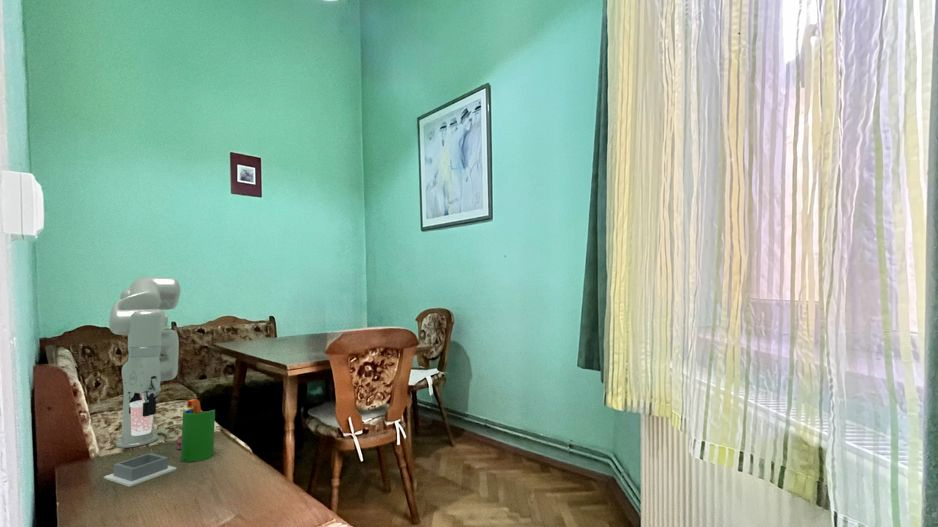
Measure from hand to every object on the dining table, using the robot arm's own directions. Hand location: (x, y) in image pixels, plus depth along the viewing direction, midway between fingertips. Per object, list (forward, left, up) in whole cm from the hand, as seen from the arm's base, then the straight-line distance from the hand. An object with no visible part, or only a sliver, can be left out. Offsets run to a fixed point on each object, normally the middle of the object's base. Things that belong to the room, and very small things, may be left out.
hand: (142, 413), depth 122 cm
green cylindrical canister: (-8, +22, -21) cm, 32 cm away
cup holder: (-11, +6, -21) cm, 24 cm away
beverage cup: (0, 0, -6) cm, 6 cm away
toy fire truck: (-23, +30, -21) cm, 43 cm away
